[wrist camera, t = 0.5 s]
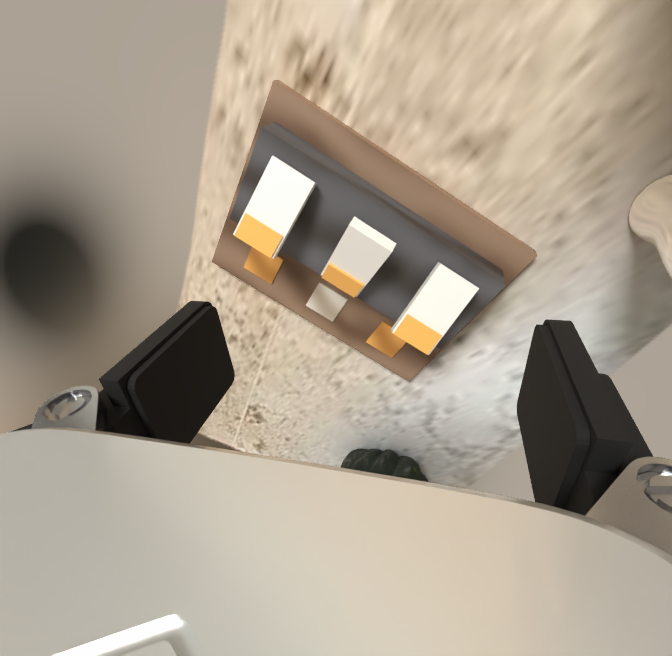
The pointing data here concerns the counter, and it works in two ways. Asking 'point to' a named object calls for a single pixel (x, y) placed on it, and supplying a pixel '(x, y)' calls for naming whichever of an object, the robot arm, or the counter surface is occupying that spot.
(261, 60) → the counter surface
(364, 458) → the squash
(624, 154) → the counter surface
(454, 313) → the block
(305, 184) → the plate
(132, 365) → the robot arm
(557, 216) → the counter surface
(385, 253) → the block
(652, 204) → the beige tall curved piece
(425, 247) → the switch unit
